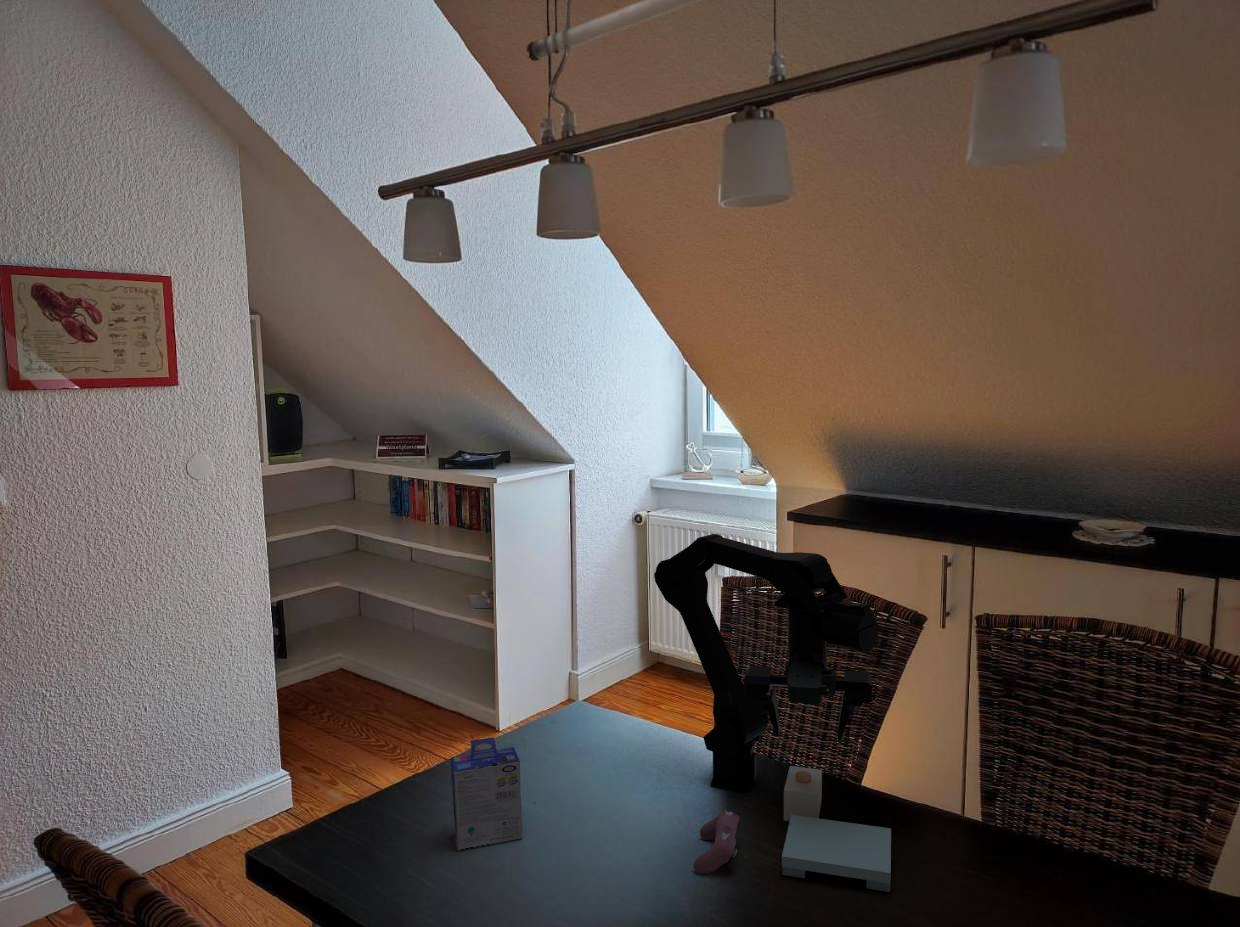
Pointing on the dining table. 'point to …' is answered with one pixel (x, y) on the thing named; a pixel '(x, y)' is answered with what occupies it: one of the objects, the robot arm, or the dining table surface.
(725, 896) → the dining table surface
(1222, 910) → the dining table surface
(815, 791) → the grey housing
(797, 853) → the teal stand
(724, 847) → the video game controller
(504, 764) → the ink cartridge box
